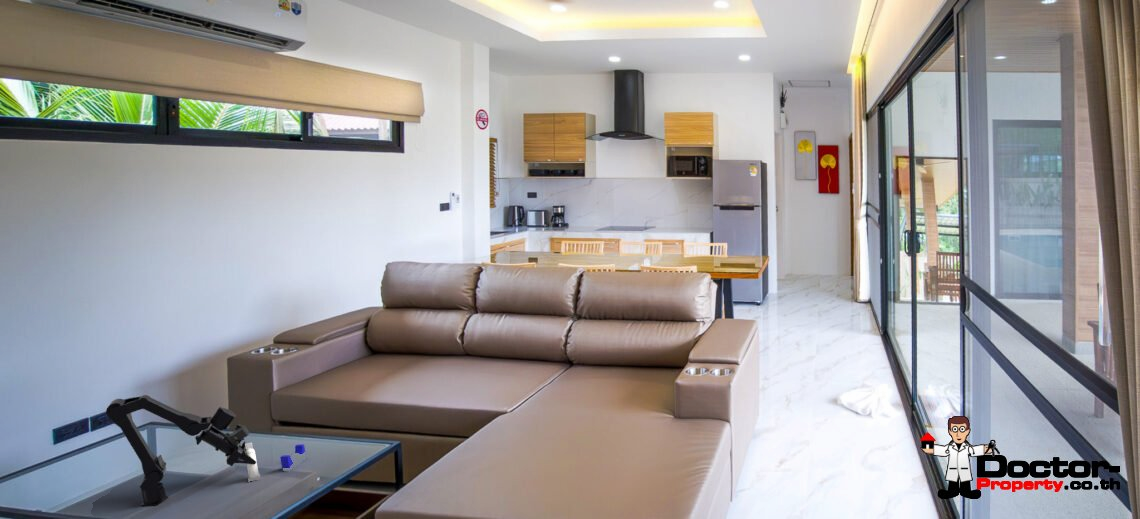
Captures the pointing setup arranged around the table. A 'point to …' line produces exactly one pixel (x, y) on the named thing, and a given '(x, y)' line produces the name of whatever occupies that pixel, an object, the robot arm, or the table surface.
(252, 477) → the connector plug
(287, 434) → the table surface
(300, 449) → the blue blocks
